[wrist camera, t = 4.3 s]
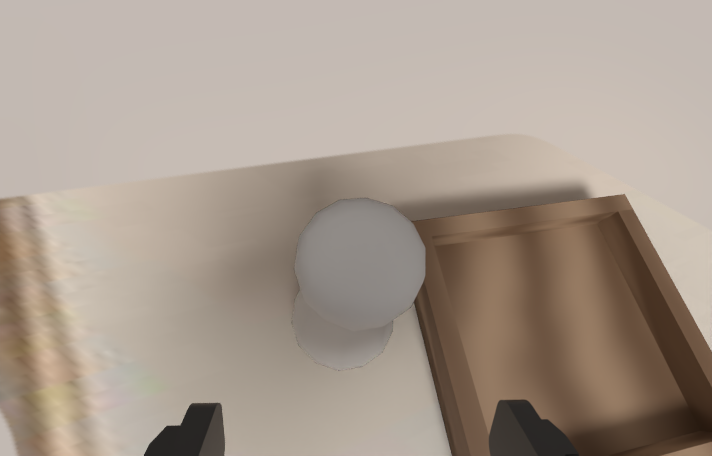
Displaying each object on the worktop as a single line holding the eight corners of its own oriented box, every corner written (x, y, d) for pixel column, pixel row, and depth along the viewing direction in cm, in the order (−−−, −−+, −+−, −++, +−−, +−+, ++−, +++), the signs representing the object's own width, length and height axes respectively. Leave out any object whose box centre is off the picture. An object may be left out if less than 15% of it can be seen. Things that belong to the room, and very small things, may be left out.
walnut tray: (594, 213, 28) (624, 194, 25) (711, 447, 21) (769, 455, 19) (398, 239, 25) (408, 221, 22) (466, 514, 19) (492, 535, 16)
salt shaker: (396, 294, 23) (474, 199, 12) (372, 384, 21) (441, 379, 9) (312, 267, 24) (307, 146, 12) (279, 353, 21) (232, 309, 9)
